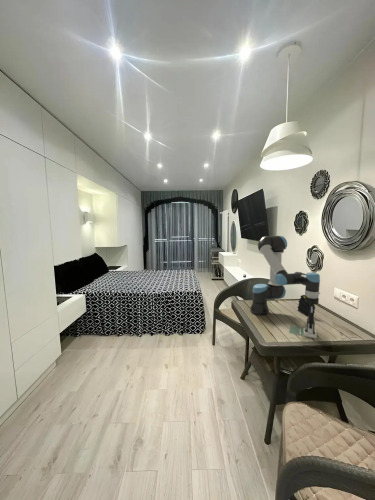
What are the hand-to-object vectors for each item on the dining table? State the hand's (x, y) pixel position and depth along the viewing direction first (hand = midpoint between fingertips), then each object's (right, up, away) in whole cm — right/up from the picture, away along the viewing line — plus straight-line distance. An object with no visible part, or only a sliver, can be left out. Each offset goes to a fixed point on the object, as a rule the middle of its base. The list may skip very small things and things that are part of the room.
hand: (310, 330), depth 132 cm
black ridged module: (+17, 0, +34) cm, 38 cm away
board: (-2, -3, +4) cm, 6 cm away
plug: (0, -1, 0) cm, 1 cm away
